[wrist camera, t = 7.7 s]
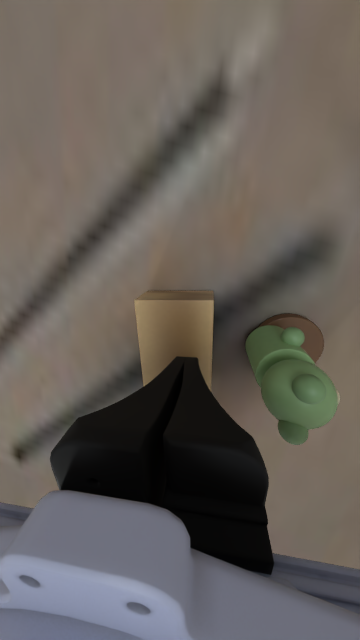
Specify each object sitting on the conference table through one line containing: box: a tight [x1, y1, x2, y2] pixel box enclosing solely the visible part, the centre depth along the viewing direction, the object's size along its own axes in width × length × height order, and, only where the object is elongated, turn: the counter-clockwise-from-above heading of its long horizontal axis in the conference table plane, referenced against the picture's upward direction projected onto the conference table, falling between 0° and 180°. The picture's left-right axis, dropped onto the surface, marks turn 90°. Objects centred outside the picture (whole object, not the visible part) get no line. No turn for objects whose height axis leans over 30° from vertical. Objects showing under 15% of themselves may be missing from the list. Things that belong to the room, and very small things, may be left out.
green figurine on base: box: [245, 314, 340, 445], centre depth 12 cm, size 8×5×7 cm
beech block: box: [134, 291, 214, 391], centre depth 15 cm, size 5×8×3 cm, turn 2°
